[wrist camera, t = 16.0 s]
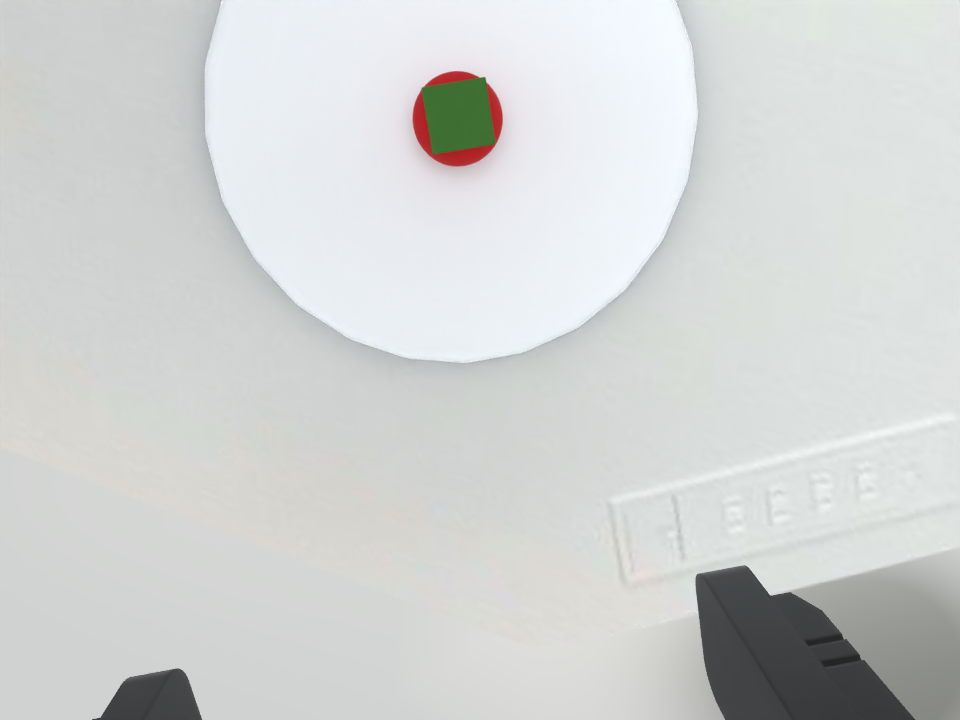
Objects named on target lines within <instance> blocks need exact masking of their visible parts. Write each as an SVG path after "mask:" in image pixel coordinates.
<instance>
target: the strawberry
mask: <svg viewBox="0 0 960 720" xmlns="http://www.w3.org/2000/svg"><path fill="white" fill-rule="evenodd" d="M412 121H413V129H414V133H415V135H416V138H417V140H418V142H419V144H420V146H421V147H422V148H423V150H424V151H425V152H426V153H427V154H428V155H429V156H430V157H431V158H433V159H434V160H436V161H437V162H439V163H442V164H444V165H448V166H456V167H459V166H467V165H471V164H473V163H476V162H478V161H480V160H481V159H483V158H484V157H486V156H487V155H488V154H489V153H490V152H491V151H492V149H493V148H494V147H495V145H496V143H497V142H498V139H499V137H500V134H501V130H502V125H503V114H502V108H501V104H500V101H499V99H498V97H497V95H496V93H495V92H494V90H493V89H492V88H491V86H490V85H489V84H488V83H487V82H486V78H485V77H481V78H480V77H478V76H476V75H474V74H471V73H468V72H463V71H451V72H446V73H443V74H440V75H438V76H436V77H435V78H433V79H432V80H430V81H429V82H428V83H427V84H426V85H425V86H424V87H422V88H421V91H420V93H419V95H418V96H417V99H416V101H415V104H414V108H413V117H412Z"/></svg>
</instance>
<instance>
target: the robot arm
mask: <svg viewBox="0 0 960 720" xmlns="http://www.w3.org/2000/svg"><path fill="white" fill-rule="evenodd" d="M696 594H697V602H698V611H699V619H700V628H701V637H702V646H703V654H704V662H705V667H706V672H707V676H708V679H709V683H710V686H711V689H712V692H713V695H714V697H715V700H716V702H717V704H718V706H719V708H720V710H721V712H722V714H723V716H724V718H725V720H915V719H914V718H913V717H912V716H911V714H910V713H909V712H908V711H907V710H906V709H905V707H904V706H903V705H902V704H901V703H900V702H899V700H898V699H897V698H896V697H895V696H894V695H893V693H892V692H891V691H890V690H889V689H888V688H887V687H886V685H885V684H884V683H883V682H882V681H881V679H880V678H879V677H878V676H877V675H876V674H875V672H874V671H873V670H872V669H871V668H870V666H868V664H867V663H866V662H865V661H864V660H861V658H860V655H859V654H858V652H857V651H856V650H855V649H854V648H853V647H852V645H851V644H850V643H849V642H848V641H847V640H846V639H845V640H844V639H843V637H842V634H841V633H840V631H839V630H838V629H837V628H836V627H835V626H834V624H833V623H832V622H831V621H830V620H829V618H828V617H827V616H826V615H825V614H824V613H823V611H822V610H820V609H818V608H817V607H815V606H813V605H812V604H810V603H808V602H806V601H805V600H803V599H801V598H799V597H798V596H796V595H794V594H792V593H791V592H789V593H784V594H778V595H773V596H770V595H769V594H768V592H767V591H766V590H765V588H764V587H763V586H762V584H761V583H760V582H759V580H758V579H757V578H756V577H755V575H754V574H753V573H752V571H751V570H750V569H749V568H748V567H747V566H745V565H744V566H738V567H733V568H727V569H722V570H716V571H711V572H706V573H700V574H697V576H696ZM92 720H202V718H201V715H200V712H199V709H198V707H197V704H196V701H195V698H194V695H193V692H192V689H191V686H190V683H189V680H188V678H187V676H186V674H185V673H184V672H183V671H182V670H181V669H172V670H167V671H161V672H156V673H150V674H145V675H139V676H134V677H129V678H128V679H126V680H125V681H124V682H123V683H122V685H121V686H120V688H119V689H118V691H117V692H116V694H115V696H114V697H113V699H112V700H111V702H110V704H109V705H108V707H107V708H106V710H105V712H104V713H103V715H102V716H101V718H97V719H92Z"/></svg>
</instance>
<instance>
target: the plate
mask: <svg viewBox="0 0 960 720" xmlns="http://www.w3.org/2000/svg"><path fill="white" fill-rule="evenodd" d="M451 71H463V72H468V73H471V74H474V75H476V76H478V77H480V78H481V77H485V78H486V82H487V83H488V84H489V85H490V86H491V88H492V89H493V90H494V92H495V93H496V95H497V97H498V99H499V101H500V104H501V108H502V114H503V125H502V130H501V134H500V137H499V139H498V142H497V143H496V145H495V147H494V148H493V149H492V151H491V152H490V153H489V154H488V155H487V156H486V157H484V158H483V159H481V160H480V161H478V162H476V163H473V164H471V165H467V166H459V167H456V166H448V165H444V164H442V163H439V162H437V161H436V160H434V159H433V158H431V157H430V156H429V155H428V154H427V153H426V152H425V151H424V150H423V148H422V147H421V146H420V144H419V142H418V140H417V138H416V135H415V133H414V129H413V121H412V117H413V108H414V104H415V101H416V99H417V96H418V95H419V93H420V91H421V88H422V87H424V86H425V85H426V84H427V83H428V82H429V81H430V80H432V79H433V78H435V77H436V76H438V75H440V74H443V73H446V72H451ZM697 121H698V106H697V94H696V83H695V71H694V60H693V48H692V45H691V42H690V40H689V37H688V34H687V31H686V28H685V25H684V22H683V20H682V17H681V14H680V11H679V8H678V5H677V2H676V0H221V4H220V8H219V12H218V16H217V20H216V24H215V27H214V31H213V35H212V39H211V43H210V47H209V51H208V54H207V58H206V62H205V136H206V140H207V144H208V148H209V152H210V156H211V159H212V163H213V167H214V171H215V175H216V179H217V183H218V186H219V190H220V194H221V198H222V201H223V203H224V205H225V207H226V208H227V210H228V212H229V214H230V216H231V218H232V219H233V221H234V223H235V225H236V227H237V228H238V230H239V232H240V234H241V236H242V238H243V239H244V241H245V243H246V245H247V247H248V249H249V250H250V252H251V254H252V256H253V258H254V259H255V260H256V261H257V262H258V263H259V264H260V266H261V267H262V268H263V269H264V270H265V271H266V272H267V273H268V274H269V275H270V276H271V277H272V278H273V280H274V281H275V282H276V283H277V284H278V285H279V286H280V287H281V288H282V289H283V290H284V291H285V293H286V294H287V295H288V296H289V297H290V298H291V299H292V300H293V301H294V302H295V303H296V304H297V305H298V306H299V307H301V308H302V309H304V310H305V311H307V312H308V313H310V314H311V315H313V316H315V317H316V318H318V319H319V320H321V321H322V322H324V323H325V324H327V325H328V326H330V327H331V328H333V329H335V330H336V331H338V332H339V333H341V334H342V335H344V336H345V337H347V338H348V339H350V340H353V341H356V342H359V343H362V344H365V345H368V346H371V347H374V348H377V349H380V350H383V351H386V352H389V353H392V354H395V355H398V356H400V357H403V358H406V359H419V360H432V361H445V362H459V363H469V362H475V361H480V360H486V359H491V358H497V357H503V356H508V355H514V354H519V353H524V352H527V351H529V350H531V349H533V348H535V347H538V346H540V345H542V344H544V343H546V342H548V341H551V340H553V339H555V338H557V337H559V336H562V335H564V334H566V333H568V332H570V331H572V330H575V329H577V328H579V327H580V326H581V325H582V324H584V323H585V322H586V321H587V320H589V319H590V318H591V317H592V316H594V315H595V314H596V313H597V312H599V311H600V310H601V309H602V308H603V307H605V306H606V305H607V304H608V303H610V302H611V301H612V300H613V299H615V298H616V297H617V296H618V295H620V294H621V293H622V292H623V291H625V290H626V288H627V287H628V286H629V284H630V283H631V282H632V280H633V279H634V278H635V276H636V275H637V274H638V272H639V271H640V270H641V268H642V267H643V266H644V265H645V263H646V262H647V261H648V259H649V258H650V257H651V255H652V254H653V253H654V251H655V250H656V249H657V247H658V246H659V245H660V243H661V242H662V241H663V239H664V236H665V234H666V232H667V229H668V227H669V225H670V222H671V220H672V217H673V215H674V213H675V210H676V208H677V206H678V203H679V201H680V199H681V196H682V194H683V192H684V189H685V187H686V184H687V182H688V178H689V171H690V165H691V159H692V153H693V146H694V140H695V134H696V127H697Z"/></svg>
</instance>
